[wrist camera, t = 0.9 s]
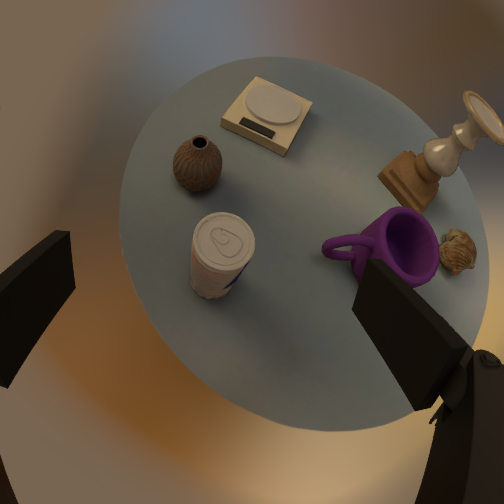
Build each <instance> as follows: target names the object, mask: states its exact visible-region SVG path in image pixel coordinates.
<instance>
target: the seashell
mask: <svg viewBox="0 0 504 504" xmlns="http://www.w3.org/2000/svg"><path fill="white" fill-rule="evenodd" d="M445 237H446V241H445V242H444V243H442V244H441V245H440V247H439V251H440V259H439V260H440V261H441V263H442V264H443V265H444V266H445V267H446V268H448V269H449V270H451V272H452V274H453V275H457V274H458V273H459V272H461V271H462V270H464V269H473V268H474V264H475V260H476V247H475V244H474V242H473V240H472V239H471V238H470V237H469V235H468V234H467V233H466V232H463V231H461V230H458V229H451V230H450V231H449V232H448V233H447V235H446V236H445Z"/></svg>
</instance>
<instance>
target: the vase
mask: <svg viewBox="0 0 504 504" xmlns="http://www.w3.org/2000/svg"><path fill="white" fill-rule="evenodd" d="M221 170H222V157H221V153H220V151H219V149H218V148H217V146H216V145H215V144H214V143H213V142H211V141H209V140H208V138H206V137H205V136H202V135H198V136H195V137H193V138H192V139H190V140H188V141H186V142H184V143H183V144H182V145H181V146H180V147H179V148H178V150H177V152H176V154H175V156H174V160H173V171H174V175H175V177H176V179H177V181H178V182H179V183H180V184H181V185H182V186H183V187H185V188H186V189H188V190H192V191H202V190H205V189H207V188H209V187H211V186H212V185H213V184H214V183H215V182H216V181H217V179H218V178H219V176H220V173H221Z"/></svg>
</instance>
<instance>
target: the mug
mask: <svg viewBox="0 0 504 504" xmlns="http://www.w3.org/2000/svg"><path fill="white" fill-rule="evenodd" d="M349 245H353V248H352V251H338V250H333V249H334V248H338V247H343V246H349ZM322 253H323V255H324V256H325V257H327V258H330V259H334V260H344V261H351V264H352V269H353V271H354V274H355V276H356V278H357V279H358V281H359V282H360V281H361V278H362V275H363V271H364V268H365V264H366V261H367V258H377V259H382V260H383V261H384V262H385V263H386V264H387V265H388V266H389V267H390V268H392V269H393V270H394V271H395V272H396V273H397V274H398V275H399V276H400V277H401V278H402V279H403V280H404V281H405V282H406V283H407V284H408V285H409V286H411V287H412V288H415V287H418V286H420V285H423V284H425V283H426V282H428V281H430V280H431V279H432V277H433V276H434V275H435V273H436V271H437V268H438V266H439V259H440V251H439V245H438V241H437V238H436V235H435V233H434V231H433V229H432V227H431V226H430V224H429V223H428V221H427V220H426V219H425V218H424V217H423V216H422V215H421V214H419V213H418V212H417V211H415V210H413V209H410V208H408V207H399V206H398V207H394V208H391V209H389V210H388V211H387V212H385V213H384V214H383V215H381V216H380V217H379V218H378V219H376V220H375V221H374V222H373V223H371V224H370V225H369V226H368V227H367V228H366V229H365V230H364V231H363V232H362V233H361V234H360V235H359V234H351V235H344V236H338V237H335V238H331V239H328V240H326V241H325V242H324V244H323V245H322Z"/></svg>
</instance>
